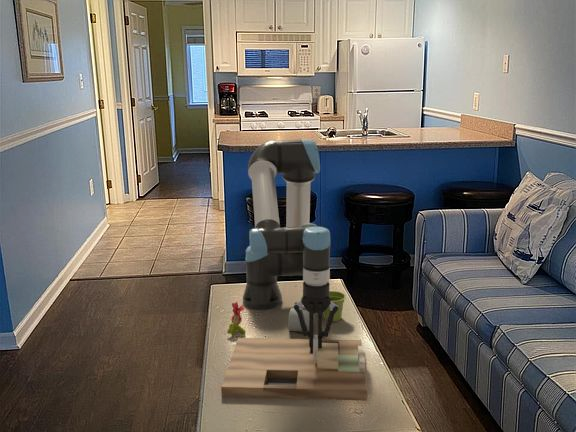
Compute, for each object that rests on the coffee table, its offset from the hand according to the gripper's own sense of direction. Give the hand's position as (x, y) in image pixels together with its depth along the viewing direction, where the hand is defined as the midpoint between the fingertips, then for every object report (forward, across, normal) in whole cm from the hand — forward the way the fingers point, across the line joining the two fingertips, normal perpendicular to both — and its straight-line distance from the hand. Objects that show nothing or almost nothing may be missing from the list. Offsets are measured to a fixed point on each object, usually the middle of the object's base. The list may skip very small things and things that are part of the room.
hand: (315, 357), depth 163 cm
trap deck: (+5, -6, 0) cm, 7 cm away
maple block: (+2, +4, 0) cm, 4 cm away
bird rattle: (+5, -28, +25) cm, 38 cm away
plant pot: (+5, +5, +37) cm, 38 cm away
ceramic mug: (+5, -6, +29) cm, 30 cm away
